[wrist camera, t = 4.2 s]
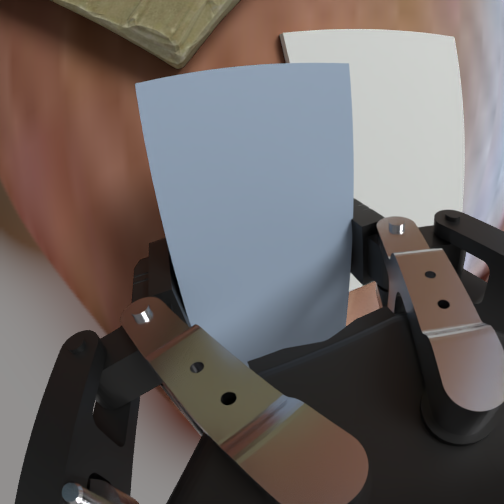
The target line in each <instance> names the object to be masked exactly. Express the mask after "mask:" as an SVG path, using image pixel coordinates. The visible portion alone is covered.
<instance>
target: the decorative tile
mask: <svg viewBox="0 0 504 504" xmlns="http://www.w3.org/2000/svg"><path fill="white" fill-rule="evenodd" d="M50 1H53V2H54V3H57V4H59V5H61V6H63V7H65V8H67V9H69V10H71V11H73V12H75V13H77V14H79V15H81V16H83V17H85V18H87V19H89V20H91V21H93V22H95V23H97V24H99V25H101V26H103V27H105V28H107V29H108V30H110V31H112V32H114V33H116V34H118V35H120V36H121V37H123V38H125V39H127V40H128V41H130V42H132V43H134V44H136V45H137V46H139V47H141V48H143V49H144V50H146V51H148V52H149V53H151V54H153V55H154V56H156V57H158V58H159V59H161V60H163V61H164V62H166V63H167V64H169V65H171V66H172V67H174V68H176V69H180V68H182V67H184V66H185V65H186V64H187V62H188V61H189V60H190V59H191V58H192V56H193V55H194V54H195V53H196V51H197V50H198V49H199V47H200V46H201V45H202V44H203V43H204V41H205V40H206V39H207V38H208V36H209V35H210V34H211V32H212V31H213V30H214V28H215V27H216V26H217V25H218V24H219V23H220V22H221V20H222V19H223V18H224V17H225V16H226V15H227V14H228V13H229V12H230V11H231V10H232V9H233V8H234V7H235V5H236V4H237V3H238V2H239V1H240V0H50Z"/></svg>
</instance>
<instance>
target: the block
mask: <svg viewBox="0 0 504 504" xmlns="http://www.w3.org/2000/svg"><path fill="white" fill-rule="evenodd" d="M135 87H136V94H137V100H138V106H139V112H140V118H141V124H142V129H143V135H144V140H145V145H146V150H147V155H148V160H149V165H150V170H151V175H152V180H153V184H154V189H155V193H156V198H157V202H158V207H159V211H160V215H161V219H162V223H163V228H164V232H165V236H166V240H167V244H168V248H169V251H170V255H171V259H172V263H173V267H174V270H175V274H176V278H177V281H178V285H179V288H180V292H181V295H182V299H183V302H184V306H185V309H186V312H187V316H188V319H189V322H190V324H191V326H193V325H195V324H197V325H199V326H200V327H201V328H202V329H203V330H205V331H206V332H207V333H208V334H209V335H210V336H212V337H213V338H214V339H215V340H216V341H217V342H219V343H220V344H221V345H222V346H223V347H224V348H226V349H227V350H228V351H229V352H230V353H232V354H233V355H234V356H235V357H236V358H238V359H239V360H240V361H241V362H243V363H244V364H245V365H246V366H247V367H249V365H248V363H247V361H250V360H253V359H256V358H259V357H262V356H265V355H267V354H270V353H273V352H276V351H278V350H281V349H284V348H289V347H295V346H300V345H306V344H311V343H317V342H322V341H325V340H328V339H329V338H331V337H332V336H334V335H335V334H337V333H338V332H339V331H341V330H342V329H344V328H345V327H346V317H347V307H348V296H349V283H350V270H351V253H352V220H351V219H353V198H354V151H353V118H352V98H351V83H350V70H349V63H282V64H263V65H250V66H239V67H230V68H221V69H213V70H206V71H199V72H192V73H186V74H180V75H175V76H169V77H164V78H159V79H154V80H149V81H145V82H140V83H136V84H135Z"/></svg>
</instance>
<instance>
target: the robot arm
mask: <svg viewBox="0 0 504 504" xmlns="http://www.w3.org/2000/svg"><path fill="white" fill-rule="evenodd" d="M351 220H352V253H351V270H350V273H351V274H352V275H353V276H354V277H355V278H356V279H357V280H358V281H359V282H360V283H361V284H362V285H366V284H368V283H370V282H373V281H375V282H376V295H377V299H378V303H379V308H380V309H378V310H376V311H373V312H371V313H369V314H367V315H365V316H362V317H360V318H358V319H356V320H354V321H353V322H352V323H350V324H349V325H348V326H346V327H345V328H344V329H342V330H341V331H339V332H338V333H337V334H335V335H334V336H332V337H331V338H329V339H328V340H325V341H322V342H317V343H311V344H306V345H300V346H295V347H289V348H284V349H281V350H278V351H276V352H273V353H270V354H267V355H265V356H262V357H259V358H256V359H253V360H250V361H247V363H248V365H249V367H247V366H246V365H245V364H244V363H243V362H241V361H240V360H239V359H238V358H236V357H235V356H234V355H233V354H232V353H230V352H229V351H228V350H227V349H226V348H224V347H223V346H222V345H221V344H220V343H219V342H217V341H216V340H215V339H214V338H213V337H212V336H210V335H209V334H208V333H207V332H206V331H205V330H203V329H202V328H201V327H200V326H199V325H197V324H195V325H193V326H191V324H190V322H189V319H188V316H187V312H186V309H185V306H184V302H183V299H182V295H181V292H180V288H179V285H178V281H177V278H176V274H175V270H174V267H173V263H172V259H171V255H170V251H169V248H168V244H167V240H166V238H164V239H161V240H158V241H155V242H152V243H149V257H147V258H144V259H141V260H140V261H139V262H138V264H137V265H136V267H135V268H134V278H133V284H134V285H133V292H132V304H130V305H129V306H128V307H127V308H126V309H125V310H124V311H123V313H122V314H121V317H120V322H121V325H122V326H121V327H119V328H118V329H117V330H115V331H113V332H112V333H110V334H108V335H106V336H104V337H103V338H101V339H100V338H99V337H98V335H97V334H96V333H95V332H93V331H91V330H85V331H81V332H78V333H76V334H74V335H73V336H71V337H70V338H69V339H68V340H67V341H66V342H65V343H64V344H63V346H62V348H61V350H60V353H59V355H58V358H57V360H56V362H55V365H54V368H53V370H52V373H51V376H50V378H49V381H48V384H47V387H46V389H45V392H44V395H43V398H42V401H41V404H40V407H39V410H38V413H37V416H36V420H35V423H34V426H33V430H32V433H31V437H30V440H29V443H28V447H27V451H26V455H25V459H24V463H23V467H22V471H21V475H20V480H19V485H18V489H17V495H16V500H15V504H139V503H138V502H137V501H136V500H135V499H134V498H132V497H131V496H130V491H131V477H132V465H133V454H134V443H135V435H136V425H137V418H138V409H139V402H140V395H142V394H144V393H146V392H148V391H150V390H151V389H153V388H155V387H157V386H158V385H161V387H162V388H163V389H164V391H165V392H166V393H167V394H168V396H169V397H170V398H171V400H172V401H173V402H174V403H175V405H176V406H177V407H178V408H179V410H180V411H181V412H182V413H183V414H184V416H185V417H186V418H187V419H188V421H189V422H190V423H191V424H192V425H193V427H194V428H195V429H196V430H197V432H198V433H199V434H200V435H201V436H202V437H201V439H200V441H199V443H198V445H197V447H196V449H195V450H194V453H193V455H192V456H191V458H190V460H189V462H188V464H187V466H186V468H185V470H184V472H183V474H182V475H181V477H180V479H179V481H178V483H177V485H176V487H175V488H174V490H173V492H172V494H171V496H170V498H169V500H168V502H167V503H166V504H504V232H503V231H501V230H499V229H497V228H495V227H493V226H491V225H489V224H487V223H484V222H482V221H480V220H478V219H476V218H473V217H471V216H469V215H467V214H464V213H462V212H459V211H456V210H441V211H438V212H437V213H436V214H435V215H434V225H431V226H424V227H417V225H416V224H415V222H414V221H412V220H411V219H408V218H405V217H400V216H391V217H386V218H385V217H383V216H382V215H380V214H379V213H377V212H376V211H374V210H372V209H371V208H370V209H369V207H368V206H366V205H363V203H361V202H360V201H358V200H356V199H354V198H353V219H351ZM466 252H468V253H470V254H472V255H474V256H476V257H477V258H479V259H481V260H483V261H484V262H486V264H487V265H488V267H489V269H490V275H489V279H488V283H487V282H485V281H483V280H482V279H480V278H478V277H477V276H475V275H473V274H472V273H470V272H468V271H466V270H465V269H463V266H464V261H465V255H466ZM95 400H96V403H95ZM94 403H95V408H94V412H93V407H94Z"/></svg>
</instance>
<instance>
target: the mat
mask: <svg viewBox="0 0 504 504" xmlns="http://www.w3.org/2000/svg"><path fill="white" fill-rule="evenodd" d="M280 40H281V44H282V48H283V52H284V57H285V61H286V63H349V70H350V83H351V98H352V118H353V151H354V199H356V200H358V201H360V202H361V203H363V205H366V206H368V207H369V209H370V208H371V209H372V210H374V211H376V212H377V213H379V214H380V215H382V216H383V217H385V218H386V217H391V216H400V217H405V218H408V219H411V220H412V221H414V222H415V224H416V225H417V227H424V226H431V225H434V215H435V214H436V213H437V212H438V211H441V210H456V211H459V212H462V207H463V192H464V163H465V144H464V115H463V101H462V89H461V80H460V71H459V64H458V57H457V50H456V44H455V39H454V37H452V36H445V35H438V34H430V33H421V32H410V31H397V30H377V29H333V30H312V31H299V32H288V33H282V34H280ZM370 283H371V282H370ZM361 286H364V285H362V284H361V283H360V282H359V281H358V280H357V279H356V278H355V277H354V276H353V275H352V274H351V273H350V283H349V291H351V290H354V289H356V288H359V287H361Z"/></svg>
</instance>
